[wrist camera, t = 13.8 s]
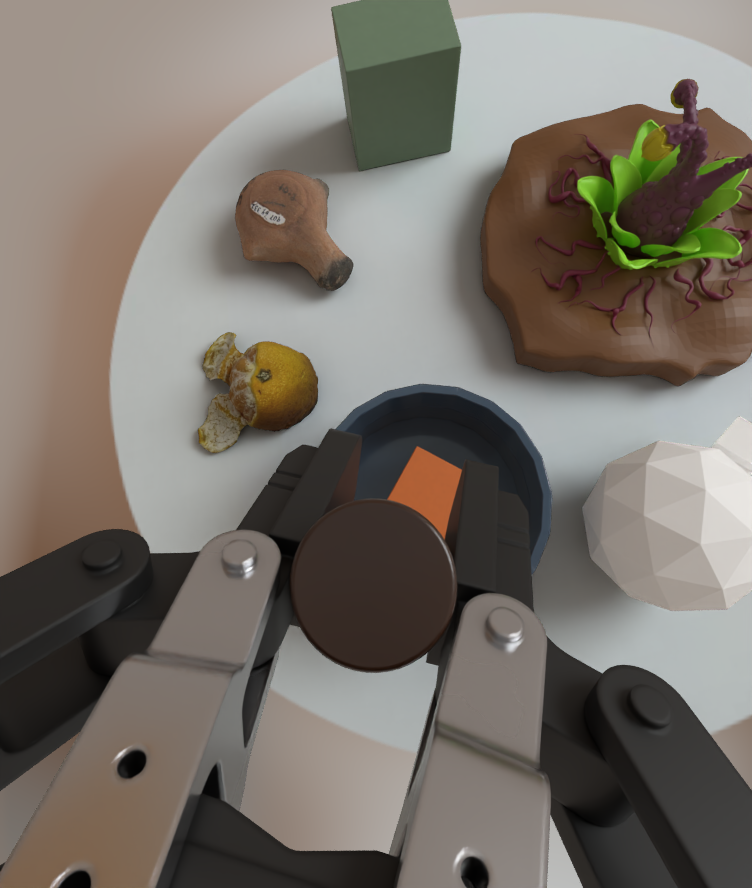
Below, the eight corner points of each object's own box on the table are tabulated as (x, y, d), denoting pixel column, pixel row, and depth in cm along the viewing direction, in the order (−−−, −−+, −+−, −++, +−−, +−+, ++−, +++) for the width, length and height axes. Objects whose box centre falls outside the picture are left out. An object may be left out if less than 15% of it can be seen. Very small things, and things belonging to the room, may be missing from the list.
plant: (462, 148, 37) (484, -20, 26) (731, 114, 36) (873, -75, 25) (499, 405, 33) (544, 335, 22) (804, 374, 32) (1011, 285, 21)
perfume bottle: (670, 662, 27) (790, 515, 30) (745, 636, 20) (899, 440, 22) (541, 553, 31) (657, 432, 34) (560, 496, 24) (708, 344, 26)
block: (442, 544, 31) (446, 543, 27) (385, 512, 31) (382, 507, 27) (471, 487, 31) (480, 479, 27) (415, 457, 32) (416, 445, 28)
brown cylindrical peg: (355, 620, 15) (284, 717, 7) (338, 525, 16) (253, 500, 7) (449, 602, 15) (503, 676, 7) (429, 507, 16) (453, 459, 7)
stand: (359, 171, 37) (345, 71, 29) (347, 116, 38) (330, 6, 30) (450, 151, 37) (461, 45, 29) (436, 96, 38) (442, -20, 30)
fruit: (204, 339, 35) (181, 316, 32) (320, 333, 35) (310, 309, 31) (199, 454, 33) (173, 443, 30) (320, 450, 33) (310, 438, 29)
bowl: (346, 628, 31) (331, 648, 25) (313, 434, 33) (292, 410, 27) (548, 588, 30) (581, 599, 24) (497, 395, 33) (516, 363, 27)
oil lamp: (249, 309, 36) (357, 298, 36) (230, 288, 32) (352, 275, 32) (241, 192, 37) (347, 180, 37) (222, 157, 33) (341, 144, 33)
